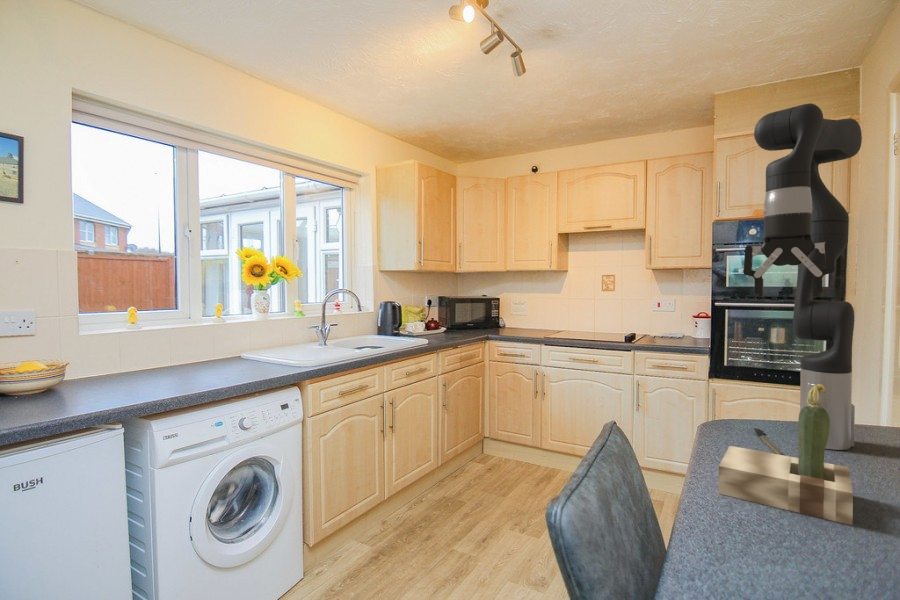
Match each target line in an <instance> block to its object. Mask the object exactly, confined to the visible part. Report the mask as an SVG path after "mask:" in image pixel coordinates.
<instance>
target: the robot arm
mask: <svg viewBox="0 0 900 600" xmlns="http://www.w3.org/2000/svg"><path fill="white" fill-rule="evenodd" d="M753 137H754V140H755V142H756V144H757V145H758V146H759V147H760V148H761V149H763V151H764V150H765V151H771V152H773V151H775V152H777V151H784V150H792V151H791V152H790V153H789V154H787V155H785V156H783V157H780V158H777V159H775V160H772V161H771V162H769V163H768V164H767V165H766V168H765V197H764V204H763V212H762V213H763V244H762V245H759V246H758V245H747V246H745V248H744V257H743V258H744V259H743V260H744V261H743V275H745V276H749V277H752V278H753V280H754V285H753V286H754V293H755V295H757V297H758V298H764V278H763V275H764V274H765V273H767V271H768V270H769V269H770V268H771V267H772V266H773V265H774V266H776V267H783V266H786V265H787V266H788V265H789V266H797V278H796V287H795V297H794V305H793V306H794V307H793V315H792V316H793V317H792V325H793V332H794V335H795V336H796V338H798V339H801V340H810V341H824V342H825V341H826V342H833V345H832V346H831V347H830V348H827V349H826V350H823V351H820V352H816V353H811V354H806V355H804V356H801V358H800V382H799V383H800V386H799V387H800V390H799V391H800V393H799V394H800V396H799V398H800V399H799V412H800V411H801V409H802V408H803V407H804V406H806V405H807V404H808V403H807V397H808V393H809V391H810V390H811V389H812V388H813V386H816V385H818V384H823V385H824V388H825V393H824V392H823V391H822V389H821V390H820V393H821V400H820V403H821V404H818V405H819V406H821V407H822V408H824V409H825V410H826V412H827V413H828V416H829V420H830V427H829V434H828V441H827V444H826V447H825V450H835V451H843V450H844V451H845V450H849V449H851V447H855V419H856V418H855V417H856V416H855V415H856V412H855V411H856V409H855V405H854V404H853V403H852V392H853V391H852V389H853V388H852V383H853V381H852V380H853V379H852V377H853V363H852V362H853V342H854V341H853V340H854V329H855V311H854V307H853V305H852V303H850V302H848V301H843V300H842V301H841V300H840V301H839V300H813V299H814V298H817V297H818V295H819V294H820V295H821V294H822V293H823V277H825V276H826V275H829V274H832V273H834V272H835V270H836V265H835V263H836V261H837V260H838V259H839V257H840V256H841V255H842V254H843V252H844V251H845V249H846V248H847V246H848V243H849V226H850V225H849V223H850V216H849V214H848V212H847V209H846V208H845V207H844V206H843V205H842V203H841V202H840V201H839V200H838V198H836V196H835V195H834V194H833V193H831V191H830V190H829V188H828V187H827V186H826V185H825V183H824V182H823V180H822V178H821V175H820V173H819V165H823V164H826V163H827V164H828V163H833V162H839V161H843V160H847V159H850V158H852V157H855V156H856V155H857V154H858V153H859V151H860V150H861V147H862V139H863V138H862V137H863V136H862V129H861V126H860V123H859V122H858V121H857V120H856V119H854V118H841V119H829V118H824V114H823V111H822V109H821V108H820V107H819V106H818V105H817V104H816V103H810V102H809V103H804V104H800V105H796V106H793V107H789V108H785V109H781V110H780V109H779V110H778V111H777V110H776V111H773V112H769V113H767V114H765V115H763V116H762V117H761V118H760V119H759V120H758V121H757V123H756V124H755V126H754V131H753ZM759 252H761V253H762V254H763V255H764V256H765V257H766V258H767V259H766V260H765V261H764V262H763V263H762V264H761V265H760V267H758V269H757V270H753V269H752V268H753V260H754V259H753V257H757V255H758V253H759ZM825 386H826V387H825Z"/></svg>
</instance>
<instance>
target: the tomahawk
mask: <svg viewBox="0 0 900 600" xmlns="http://www.w3.org/2000/svg"><path fill="white" fill-rule="evenodd" d="M753 431H754V432H755V434H756V437H758V438H759V437H760V438H759V439H760V440H761V439H762V440H761V441H762V442H763V441H764V442H765V443H764V442H763V443H764V444H765V445H766V446H767V445H768V446H767V447H768V448H769V449H770V450H771V451H772V452H773V454H778V455H784V456H787V455H785V454H784V453H783V452H782V451H781V450H780V449H779V448H778V447H777V446H776V445H775V444H774V443H773V442H772V441H771V440H770V439H769V438H768V437H766V436H765V434H764V430H763V429H760V428H756V427H754V428H753Z"/></svg>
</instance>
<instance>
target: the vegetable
mask: <svg viewBox="0 0 900 600" xmlns="http://www.w3.org/2000/svg"><path fill="white" fill-rule="evenodd" d="M825 387H826V386H825ZM821 389H822V391H823V392H824V393H825V388H824V385H823V384H818V385H816V386H813V388H812V389H811V390H810V391H809V393H808V397H807V403H808V404H807V405H806V406H804V407H803V408H802V409H801V411H800V410H799V413H798V421H797V436H798V444H797V445H798V446H797V449H798V450H797V451H798V457H797V458H798V474H799V475H804V476H809V477H814V478H819V479H823V480H824V463H825V462H824V461H825V451H826V449H825V447H826V444H827V441H828V434H829V427H830V420H829V416H828V413H827V412H826V410H825V409H824V408H822V407H821V406H819V405H818V404H821V403H820V400H821V393H820V390H821Z"/></svg>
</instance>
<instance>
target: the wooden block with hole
mask: <svg viewBox="0 0 900 600" xmlns="http://www.w3.org/2000/svg"><path fill="white" fill-rule="evenodd" d="M784 455H785V454H783V455H778V454H775V453H774V452H773V453H772V452H768V451H761V450H755V449H750V448H744V447H740V446H739V447H738V446H733V445H729V446H728V447H727V450H726V451H725V454H724V455H723V457H722V459H721V461H720V463H719V465H718V495H723V496H728V497H731V498H736V499H740V500H744V501H749V502H753V503H757V504H762V505H765V506H770V507H774V508H778V509H782V510H786V511H790V512H794V513H799V514H801V515H807V516H810V517H813V518H814V517H815V518H818V519H823V520H828V521H833V522H837V523H841V524H845V525H849V526H853V517H854V516H853V513H854V512H853V511H854V510H853V509H854V506H853V505H854V491H853V487H852V480H851V476H850V469H849V468H850V467H849V466H845V465H839V464H833V463H827V462H824V480H823V479H819V478H814V477H809V476H804V475H799V474H798V457H795V456H790V455H789V456H788V455H786V456H784Z"/></svg>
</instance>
